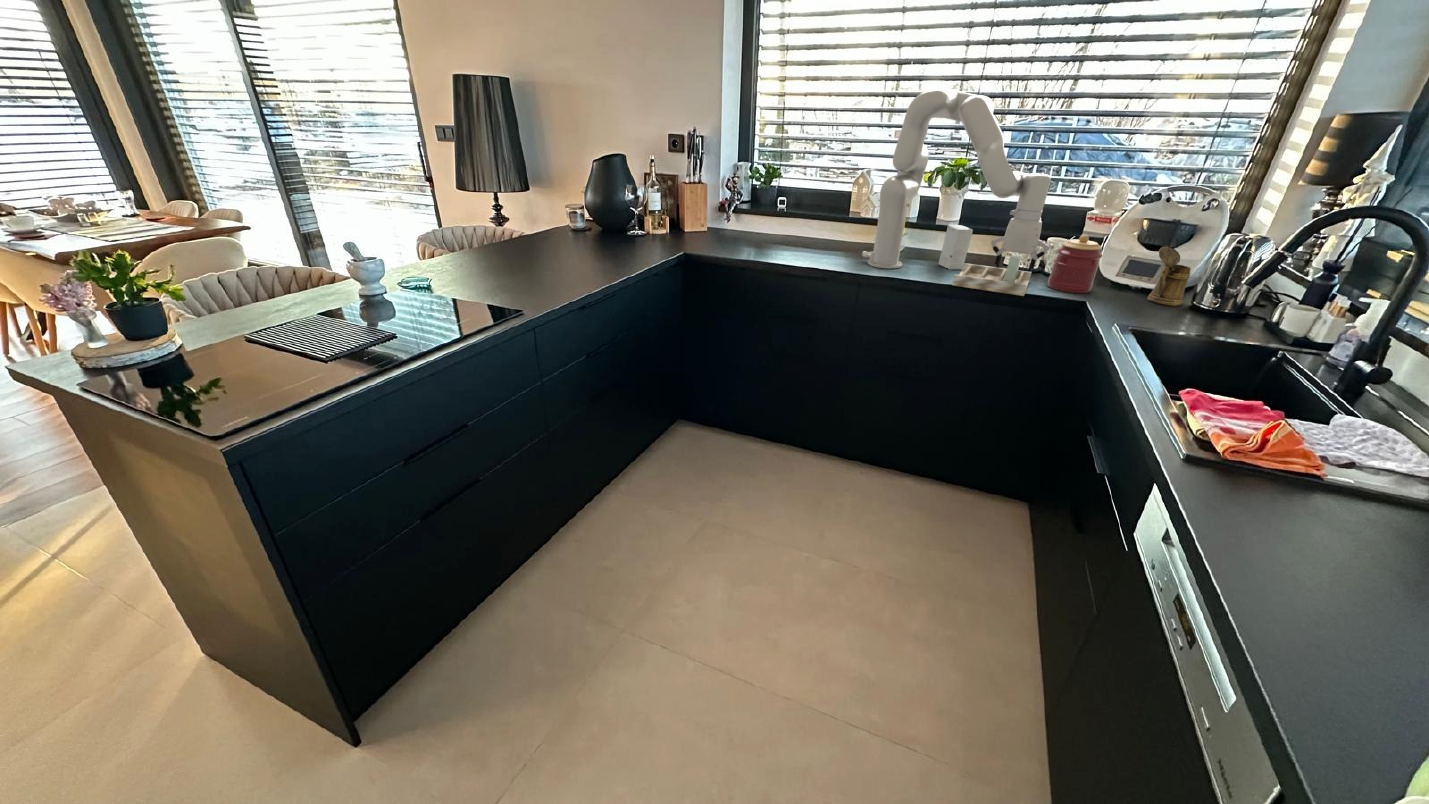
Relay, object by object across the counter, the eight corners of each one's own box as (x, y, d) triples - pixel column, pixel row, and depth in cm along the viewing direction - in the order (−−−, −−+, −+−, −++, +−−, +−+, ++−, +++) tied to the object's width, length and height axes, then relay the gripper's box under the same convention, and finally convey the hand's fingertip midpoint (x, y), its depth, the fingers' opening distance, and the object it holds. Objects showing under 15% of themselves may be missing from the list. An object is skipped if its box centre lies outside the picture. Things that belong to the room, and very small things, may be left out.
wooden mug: (1130, 300, 175) (1152, 242, 167) (1159, 296, 180) (1182, 239, 171) (1158, 308, 168) (1183, 248, 160) (1188, 304, 172) (1213, 245, 164)
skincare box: (938, 264, 213) (946, 224, 207) (952, 264, 214) (961, 224, 207) (949, 269, 206) (958, 228, 199) (964, 269, 207) (973, 228, 200)
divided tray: (951, 285, 187) (953, 274, 186) (961, 272, 203) (964, 263, 201) (1023, 295, 177) (1026, 285, 176) (1028, 282, 193) (1031, 272, 191)
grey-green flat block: (1002, 285, 185) (1009, 258, 180) (1005, 279, 191) (1012, 253, 187) (1012, 286, 183) (1019, 259, 179) (1015, 281, 189) (1022, 254, 185)
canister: (1049, 281, 195) (1064, 229, 186) (1092, 287, 188) (1110, 234, 180) (1043, 289, 185) (1059, 234, 177) (1088, 296, 179) (1107, 240, 170)
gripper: (996, 214, 178) (983, 267, 186) (1057, 219, 170) (1041, 275, 178) (999, 211, 184) (986, 263, 192) (1058, 216, 176) (1043, 270, 184)
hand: (1013, 269), depth 185 cm, fingers open, 9 cm apart
